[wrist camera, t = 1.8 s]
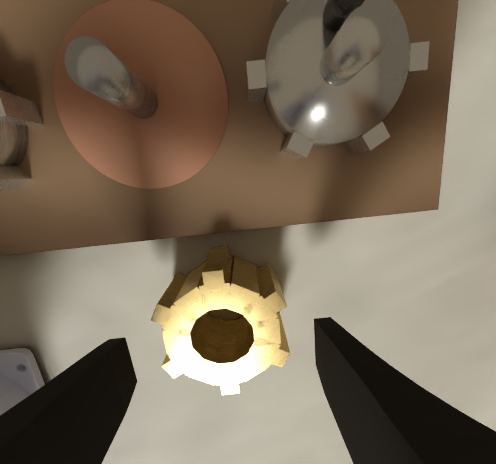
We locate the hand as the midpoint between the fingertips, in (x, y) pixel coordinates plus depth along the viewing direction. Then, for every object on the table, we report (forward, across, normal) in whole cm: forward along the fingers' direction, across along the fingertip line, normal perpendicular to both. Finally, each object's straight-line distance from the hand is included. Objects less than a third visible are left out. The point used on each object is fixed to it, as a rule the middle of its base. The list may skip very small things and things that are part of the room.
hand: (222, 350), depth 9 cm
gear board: (+4, +2, -10) cm, 10 cm away
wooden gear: (+4, 0, 0) cm, 4 cm away
